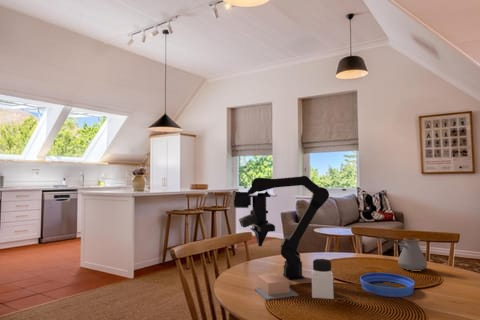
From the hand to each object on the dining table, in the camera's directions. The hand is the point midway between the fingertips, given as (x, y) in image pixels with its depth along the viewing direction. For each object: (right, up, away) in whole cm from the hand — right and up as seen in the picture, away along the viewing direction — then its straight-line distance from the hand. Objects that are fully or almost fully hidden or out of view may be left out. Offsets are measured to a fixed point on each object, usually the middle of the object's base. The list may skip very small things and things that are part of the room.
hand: (259, 246), depth 142 cm
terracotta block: (+2, -9, -13) cm, 16 cm away
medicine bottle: (+20, -11, -23) cm, 33 cm away
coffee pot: (+61, -12, +6) cm, 63 cm away
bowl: (+44, -11, -18) cm, 49 cm away
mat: (+4, -11, -21) cm, 24 cm away
